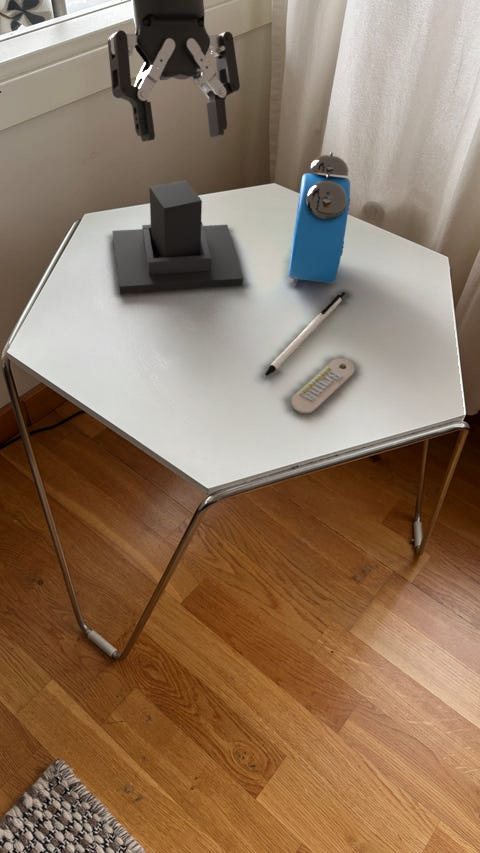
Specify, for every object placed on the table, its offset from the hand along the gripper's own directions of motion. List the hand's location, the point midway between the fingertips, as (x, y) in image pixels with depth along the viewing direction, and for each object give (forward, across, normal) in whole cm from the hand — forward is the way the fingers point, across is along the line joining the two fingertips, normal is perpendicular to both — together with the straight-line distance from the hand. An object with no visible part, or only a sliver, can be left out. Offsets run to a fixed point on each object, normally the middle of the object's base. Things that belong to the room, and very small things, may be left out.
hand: (183, 138), depth 79 cm
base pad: (+14, +3, +13) cm, 20 cm away
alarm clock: (+18, +19, +4) cm, 26 cm away
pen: (+24, +12, -4) cm, 27 cm away
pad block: (+13, +3, +13) cm, 19 cm away
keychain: (+29, +9, -11) cm, 32 cm away
